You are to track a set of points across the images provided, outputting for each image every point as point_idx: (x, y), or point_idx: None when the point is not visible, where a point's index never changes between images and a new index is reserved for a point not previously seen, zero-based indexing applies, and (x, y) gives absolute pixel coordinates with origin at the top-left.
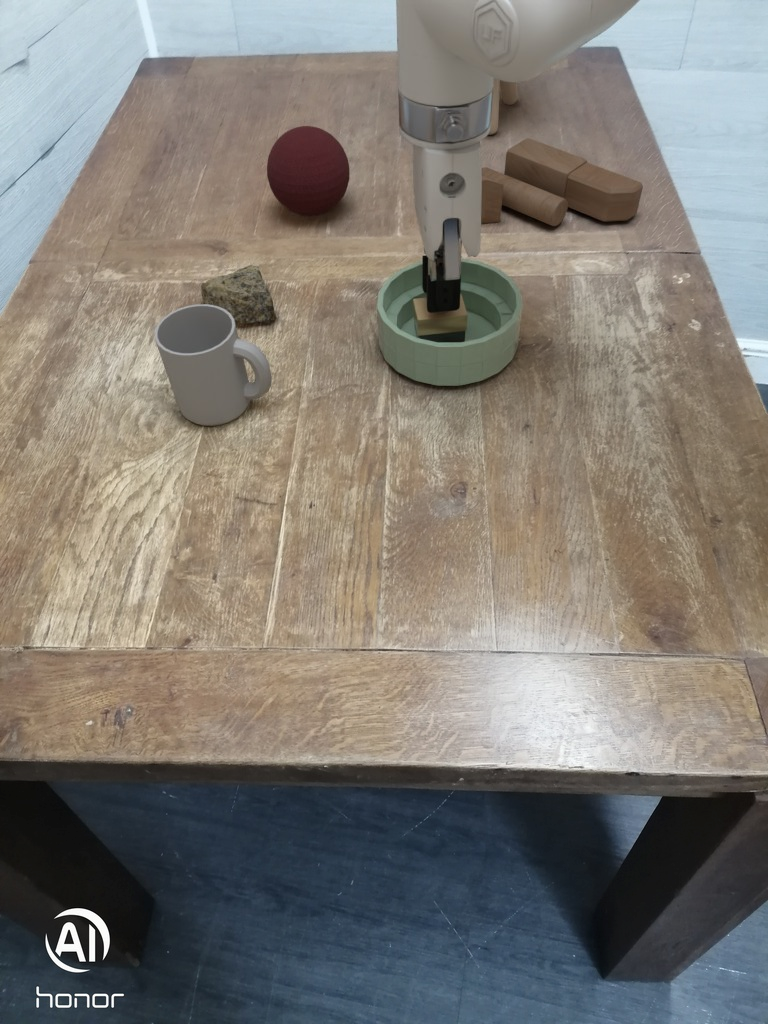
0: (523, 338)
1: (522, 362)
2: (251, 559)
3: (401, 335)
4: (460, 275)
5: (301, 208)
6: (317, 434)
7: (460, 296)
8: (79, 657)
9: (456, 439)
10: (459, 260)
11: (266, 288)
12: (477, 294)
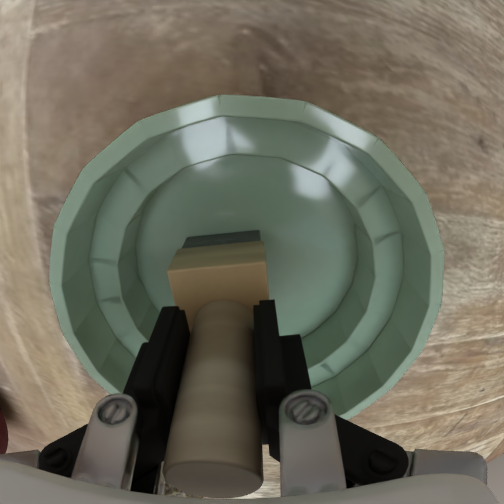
0: (236, 87)
1: (324, 102)
2: (498, 409)
3: (363, 408)
4: (330, 406)
5: (4, 427)
6: (406, 408)
7: (180, 274)
8: (496, 449)
9: (477, 257)
10: (340, 467)
11: (177, 492)
12: (136, 212)
